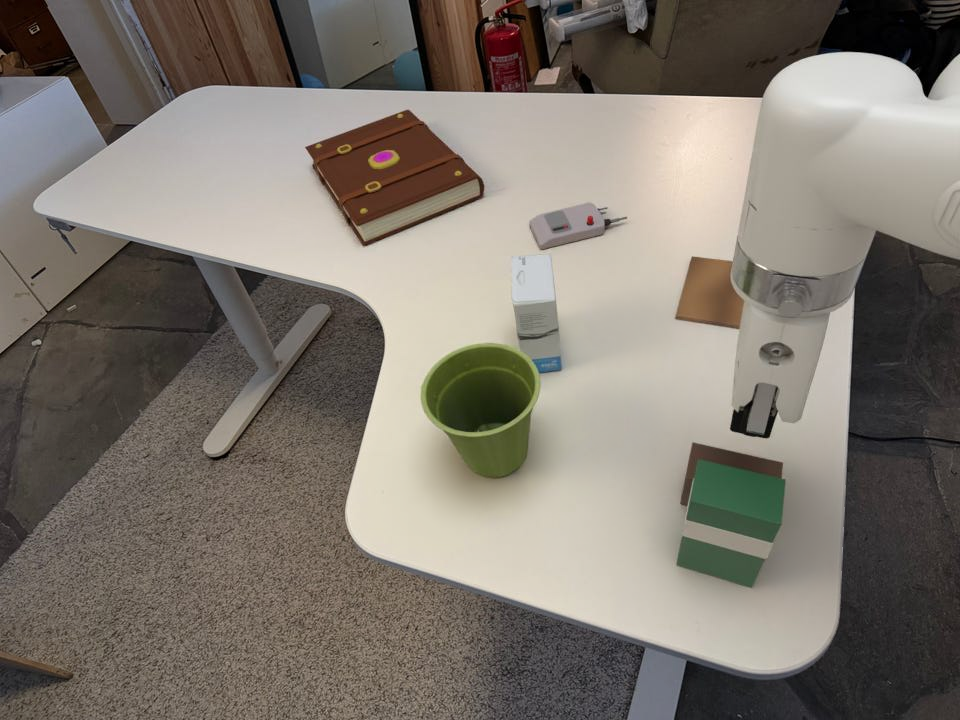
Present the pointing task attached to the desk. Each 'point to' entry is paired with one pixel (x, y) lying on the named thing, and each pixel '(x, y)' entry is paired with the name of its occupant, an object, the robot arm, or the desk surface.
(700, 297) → the coaster
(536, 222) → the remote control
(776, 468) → the block
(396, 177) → the book
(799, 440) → the desk surface
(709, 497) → the block
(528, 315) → the ink box
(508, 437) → the plant pot
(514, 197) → the desk surface
